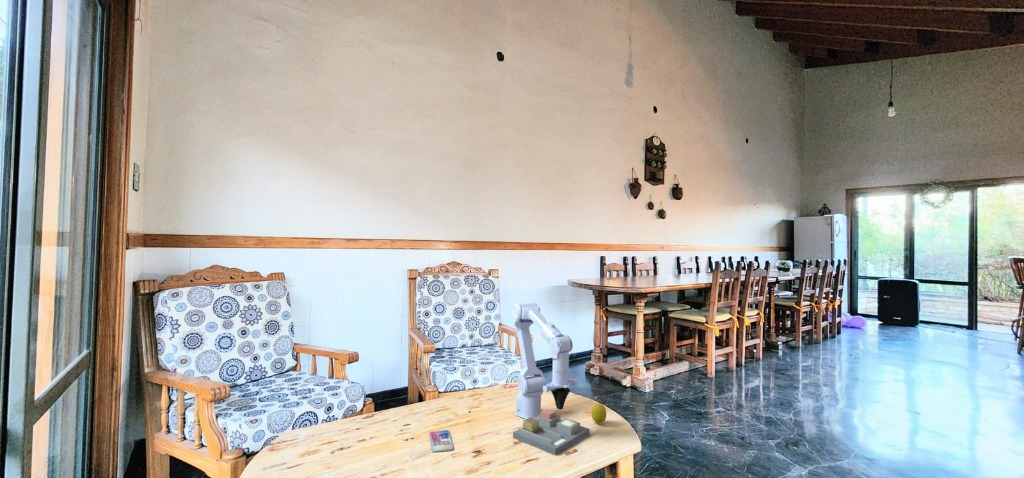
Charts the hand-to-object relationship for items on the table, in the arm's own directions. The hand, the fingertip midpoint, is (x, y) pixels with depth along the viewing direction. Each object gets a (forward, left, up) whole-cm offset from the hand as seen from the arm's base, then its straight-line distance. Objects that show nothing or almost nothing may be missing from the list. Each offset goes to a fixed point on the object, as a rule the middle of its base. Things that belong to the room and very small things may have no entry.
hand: (559, 408), depth 155 cm
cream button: (+3, +2, -7) cm, 8 cm away
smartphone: (-26, -32, -10) cm, 43 cm away
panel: (-1, -3, -9) cm, 10 cm away
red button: (-6, +2, -5) cm, 8 cm away
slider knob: (-6, -8, -7) cm, 13 cm away
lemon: (+6, +18, -10) cm, 21 cm away
